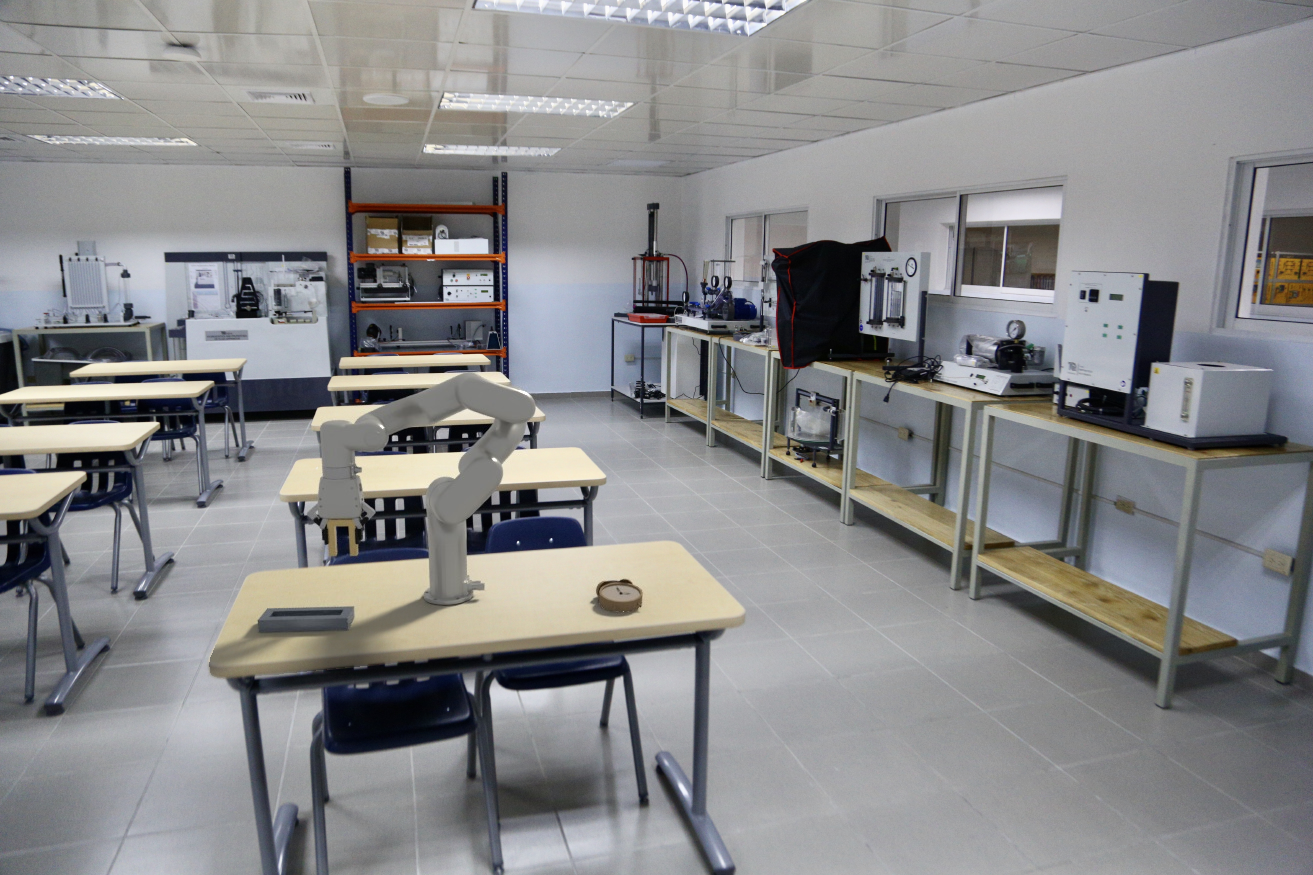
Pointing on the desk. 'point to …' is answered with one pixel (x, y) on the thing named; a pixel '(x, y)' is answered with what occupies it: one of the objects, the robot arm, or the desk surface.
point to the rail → (306, 619)
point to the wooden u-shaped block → (332, 535)
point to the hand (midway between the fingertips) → (342, 542)
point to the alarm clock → (619, 595)
